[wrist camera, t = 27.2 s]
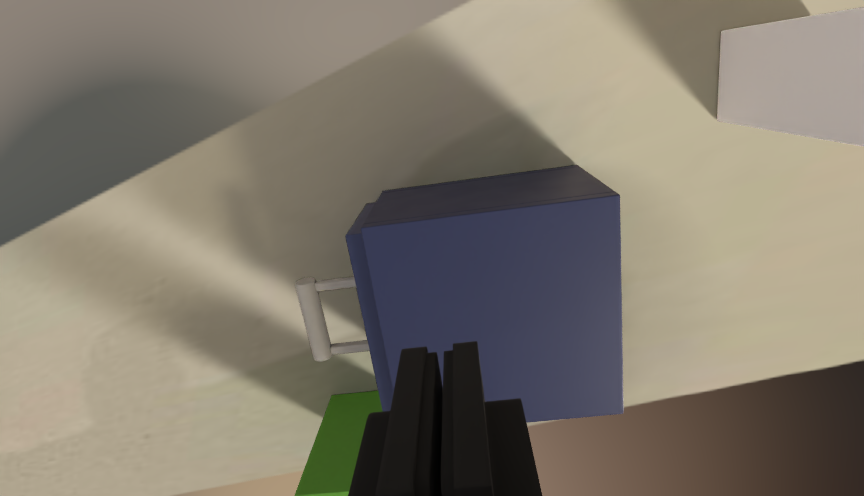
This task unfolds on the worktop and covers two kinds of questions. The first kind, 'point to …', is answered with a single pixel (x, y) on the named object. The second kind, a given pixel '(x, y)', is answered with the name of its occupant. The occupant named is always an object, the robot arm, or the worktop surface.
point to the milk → (796, 76)
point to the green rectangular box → (338, 445)
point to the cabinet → (507, 284)
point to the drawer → (362, 282)
